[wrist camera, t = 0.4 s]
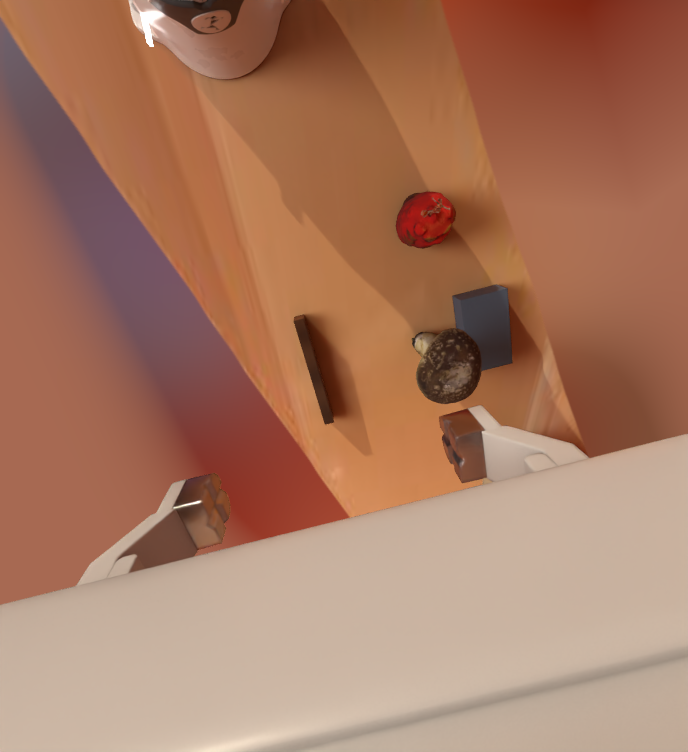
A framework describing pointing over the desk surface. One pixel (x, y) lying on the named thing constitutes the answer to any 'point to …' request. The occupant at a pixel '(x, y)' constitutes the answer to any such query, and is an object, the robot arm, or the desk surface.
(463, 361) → the mushroom
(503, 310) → the block
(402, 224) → the red clay folk toy
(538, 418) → the desk surface
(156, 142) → the desk surface
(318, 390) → the ledge
